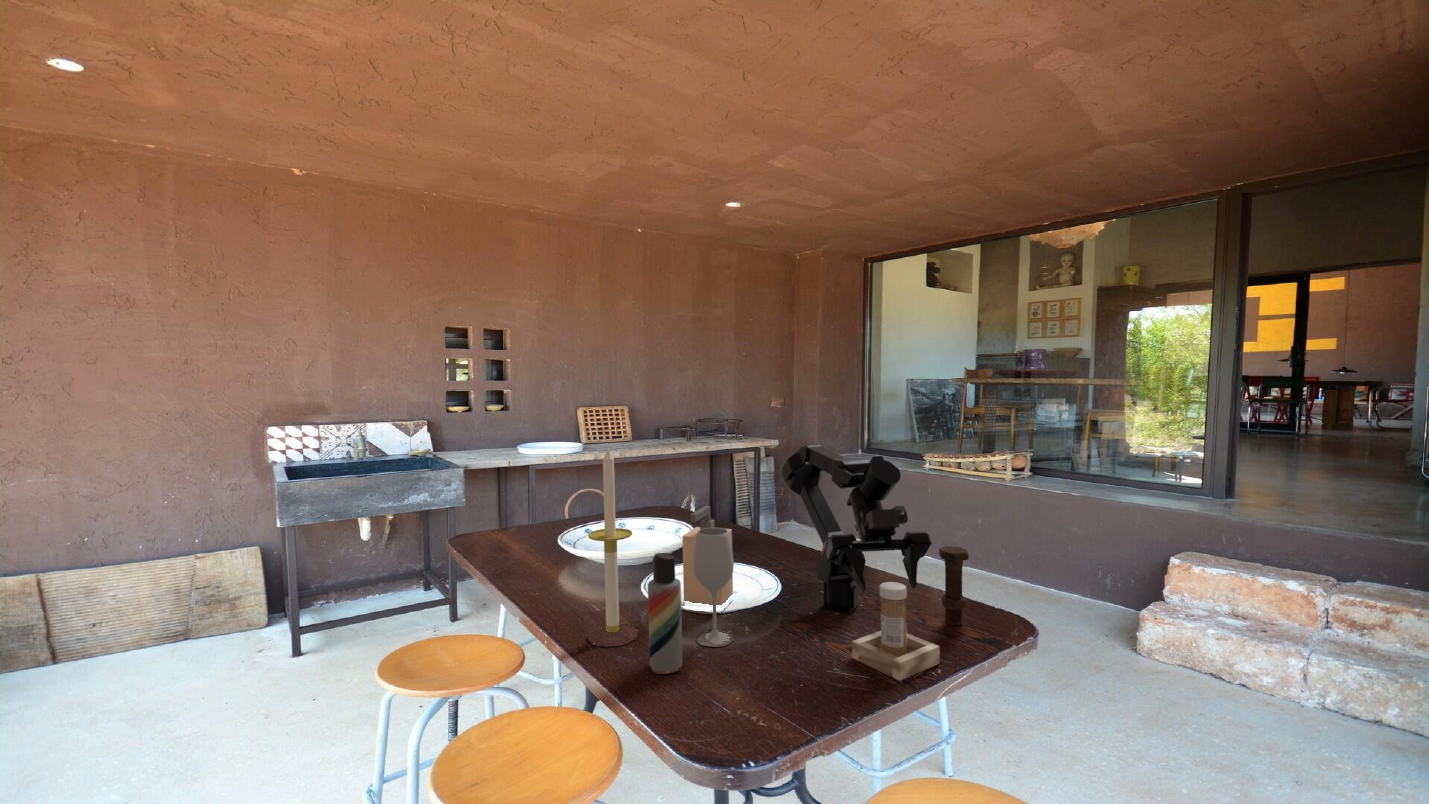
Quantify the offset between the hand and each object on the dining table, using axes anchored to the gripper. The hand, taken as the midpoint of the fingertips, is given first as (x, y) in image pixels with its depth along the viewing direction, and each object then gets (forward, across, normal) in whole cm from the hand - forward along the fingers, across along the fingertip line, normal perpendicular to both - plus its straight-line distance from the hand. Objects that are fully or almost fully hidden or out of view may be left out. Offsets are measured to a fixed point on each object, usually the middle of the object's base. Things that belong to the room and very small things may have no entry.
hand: (889, 588), depth 112 cm
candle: (-1, -50, +19) cm, 54 cm away
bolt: (0, +18, +17) cm, 24 cm away
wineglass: (+2, -31, +16) cm, 35 cm away
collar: (+10, 0, +7) cm, 12 cm away
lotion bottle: (+9, -40, +8) cm, 42 cm away
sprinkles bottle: (+10, 0, +7) cm, 12 cm away
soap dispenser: (-10, -31, +27) cm, 43 cm away
